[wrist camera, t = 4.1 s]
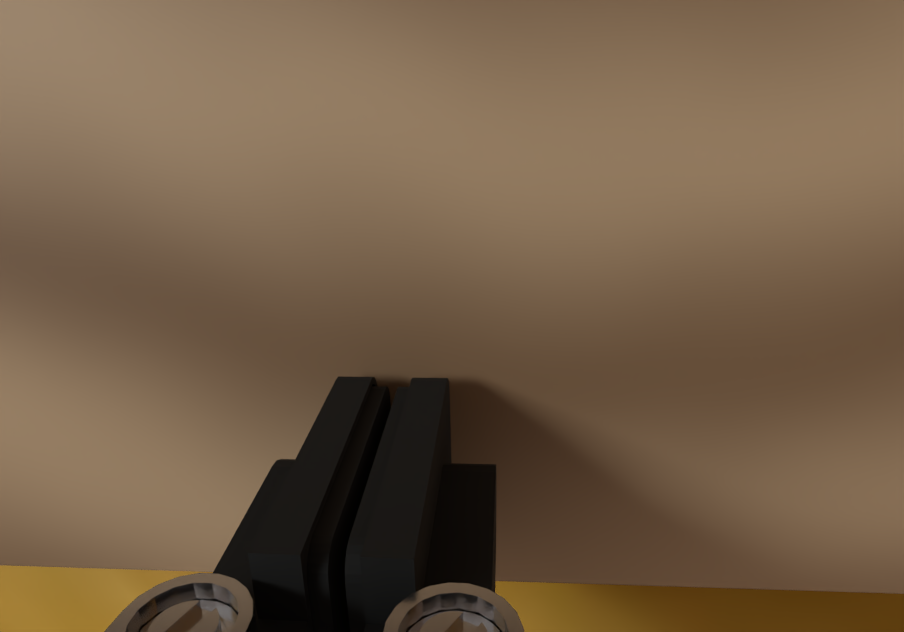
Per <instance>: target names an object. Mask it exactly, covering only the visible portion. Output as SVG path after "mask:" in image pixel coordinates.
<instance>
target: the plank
mask: <svg viewBox="0 0 904 632" xmlns="http://www.w3.org/2000/svg"><path fill="white" fill-rule="evenodd" d="M338 376H342V377H375V379H376V382H377V386H386V387H388V388H389V392H390V404H391V406H392V403H393V400H394V397H395V394H396V391H397V388H398V387H409V386H410V382H411V379H412V378H448V379H449V388H450V424H451V463H460V464H496V573H495V581H517V582H549V583H580V584H612V585H644V586H675V587H707V588H738V589H770V590H801V591H833V592H864V593H896V594H904V0H0V565H13V566H44V567H76V568H107V569H139V570H170V571H202V572H214V570H215V568H216V566H217V564H218V563H219V561H220V559H221V557H222V555H223V554H224V552H225V550H226V548H227V546H228V545H229V543H230V541H231V539H232V537H233V536H234V534H235V532H236V530H237V528H238V527H239V525H240V523H241V521H242V519H243V518H244V516H245V514H246V512H247V510H248V509H249V507H250V505H251V503H252V501H253V500H254V498H255V496H256V494H257V492H258V491H259V489H260V487H261V485H262V483H263V482H264V480H265V478H266V476H267V474H268V473H269V471H270V469H271V467H272V466H273V464H274V463H275V462H276V460H279V459H296V457H297V455H298V453H299V451H300V449H301V447H302V445H303V443H304V441H305V439H306V437H307V435H308V434H309V432H310V430H311V428H312V426H313V424H314V422H315V420H316V418H317V416H318V414H319V412H320V410H321V408H322V406H323V404H324V402H325V400H326V398H327V396H328V394H329V392H330V390H331V388H332V386H333V384H334V382H335V381H336V379H337V377H338Z"/></svg>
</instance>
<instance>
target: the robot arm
mask: <svg viewBox="0 0 904 632" xmlns="http://www.w3.org/2000/svg"><path fill="white" fill-rule="evenodd" d="M495 573H496V464H460V463H451V424H450V388H449V379H448V378H412V379H411V382H410V386H409V387H398V388H397V391H396V394H395V397H394V400H393V403H392V406H391V404H390V392H389V388H388V387H386V386H377V382H376V379H375V377H342V376H338V377H337V379H336V381H335V382H334V384H333V386H332V388H331V390H330V392H329V394H328V396H327V398H326V400H325V402H324V404H323V406H322V408H321V410H320V412H319V414H318V416H317V418H316V420H315V422H314V424H313V426H312V428H311V430H310V432H309V434H308V435H307V437H306V439H305V441H304V443H303V445H302V447H301V449H300V451H299V453H298V455H297V457H296V459H279V460H276V462H275V463H274V464H273V466H272V467H271V469H270V471H269V473H268V474H267V476H266V478H265V480H264V482H263V483H262V485H261V487H260V489H259V491H258V492H257V494H256V496H255V498H254V500H253V501H252V503H251V505H250V507H249V509H248V510H247V512H246V514H245V516H244V518H243V519H242V521H241V523H240V525H239V527H238V528H237V530H236V532H235V534H234V536H233V537H232V539H231V541H230V543H229V545H228V546H227V548H226V550H225V552H224V554H223V555H222V557H221V559H220V561H219V563H218V564H217V566H216V568H215V570H214V572H213V573H197V574H192V575H186V576H180V577H177V578H174V579H172V580H169V581H166V582H164V583H161V584H158V585H157V586H155V587H153V588H152V589H150V590H148V591H147V592H145V593H143V594H142V595H140V596H138V597H137V598H136V599H135V600H134V601H133V602H132V603H131V604H130V605H128V606H127V607H126V608H125V609H124V610H123V611H122V612H121V613H120V614H119V616H118V617H117V618H116V619H115V620H114V621H113V622H112V624H111V625H110V626H109V627H108V628H107V629H106V630H105V632H524V628H523V626H522V623H521V621H520V619H519V616H518V614H517V612H516V611H515V610H514V609H513V608H512V606H511V605H510V604H509V603H508V602H507V601H506V600H505V599H504V598H502V597H501V596H499V595H497V594H496V593H495Z"/></svg>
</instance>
